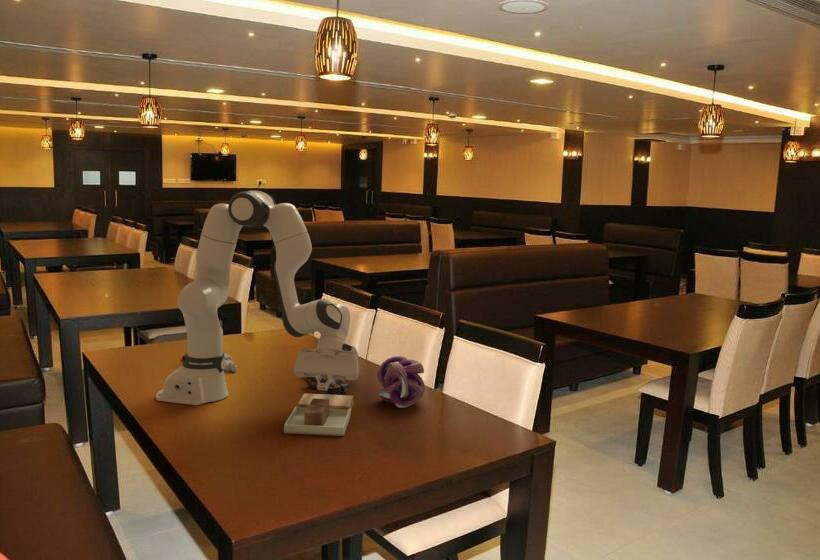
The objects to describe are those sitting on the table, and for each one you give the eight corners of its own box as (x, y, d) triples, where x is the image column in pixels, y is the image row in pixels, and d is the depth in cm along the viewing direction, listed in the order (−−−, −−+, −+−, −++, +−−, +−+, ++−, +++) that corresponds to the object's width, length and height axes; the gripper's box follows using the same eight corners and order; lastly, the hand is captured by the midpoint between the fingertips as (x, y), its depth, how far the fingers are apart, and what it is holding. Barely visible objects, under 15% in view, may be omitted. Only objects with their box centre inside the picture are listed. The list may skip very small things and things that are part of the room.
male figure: (212, 333, 250) (246, 349, 233) (212, 356, 252) (245, 374, 235) (186, 337, 242) (219, 354, 225) (186, 361, 244) (219, 380, 227)
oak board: (297, 413, 192) (297, 404, 192) (304, 402, 202) (304, 393, 202) (349, 415, 192) (349, 406, 191) (353, 404, 202) (353, 395, 201)
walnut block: (312, 414, 191) (304, 429, 179) (312, 398, 190) (304, 412, 178) (328, 414, 190) (321, 429, 179) (329, 399, 190) (321, 413, 178)
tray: (284, 433, 177) (284, 424, 176) (295, 413, 192) (296, 405, 192) (343, 436, 176) (343, 427, 176) (350, 416, 192) (350, 408, 191)
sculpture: (425, 418, 198) (433, 379, 215) (412, 377, 191) (421, 340, 208) (379, 422, 202) (390, 384, 219) (364, 382, 195) (378, 345, 212)
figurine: (328, 360, 233) (358, 382, 206) (327, 375, 234) (358, 399, 207) (295, 363, 227) (321, 387, 201) (294, 379, 228) (321, 404, 201)
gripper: (297, 343, 198) (286, 382, 190) (360, 347, 195) (352, 387, 187) (301, 353, 203) (291, 391, 195) (362, 357, 200) (355, 396, 192)
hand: (322, 389), depth 191 cm, fingers closed
